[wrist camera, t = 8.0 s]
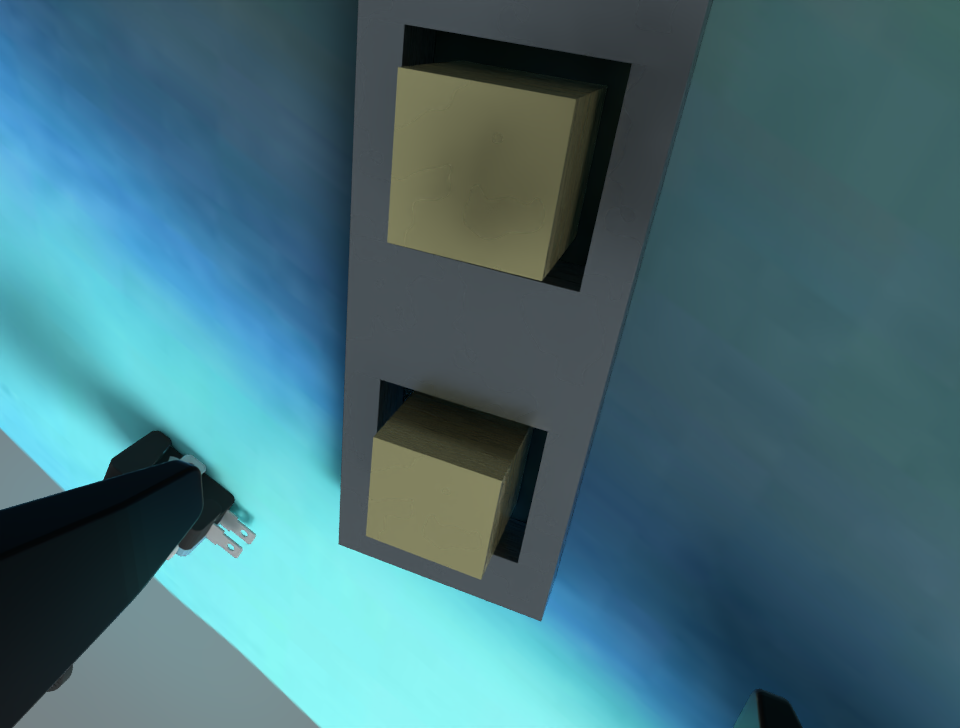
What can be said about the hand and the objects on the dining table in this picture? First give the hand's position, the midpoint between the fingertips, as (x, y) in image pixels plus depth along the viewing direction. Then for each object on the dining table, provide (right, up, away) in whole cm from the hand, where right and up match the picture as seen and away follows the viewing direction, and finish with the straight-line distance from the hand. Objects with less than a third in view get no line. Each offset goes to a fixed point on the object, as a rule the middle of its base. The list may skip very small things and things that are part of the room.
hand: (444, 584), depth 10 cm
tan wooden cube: (0, +1, +13) cm, 13 cm away
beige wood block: (+2, +9, +8) cm, 12 cm away
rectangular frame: (+1, +5, +11) cm, 12 cm away
